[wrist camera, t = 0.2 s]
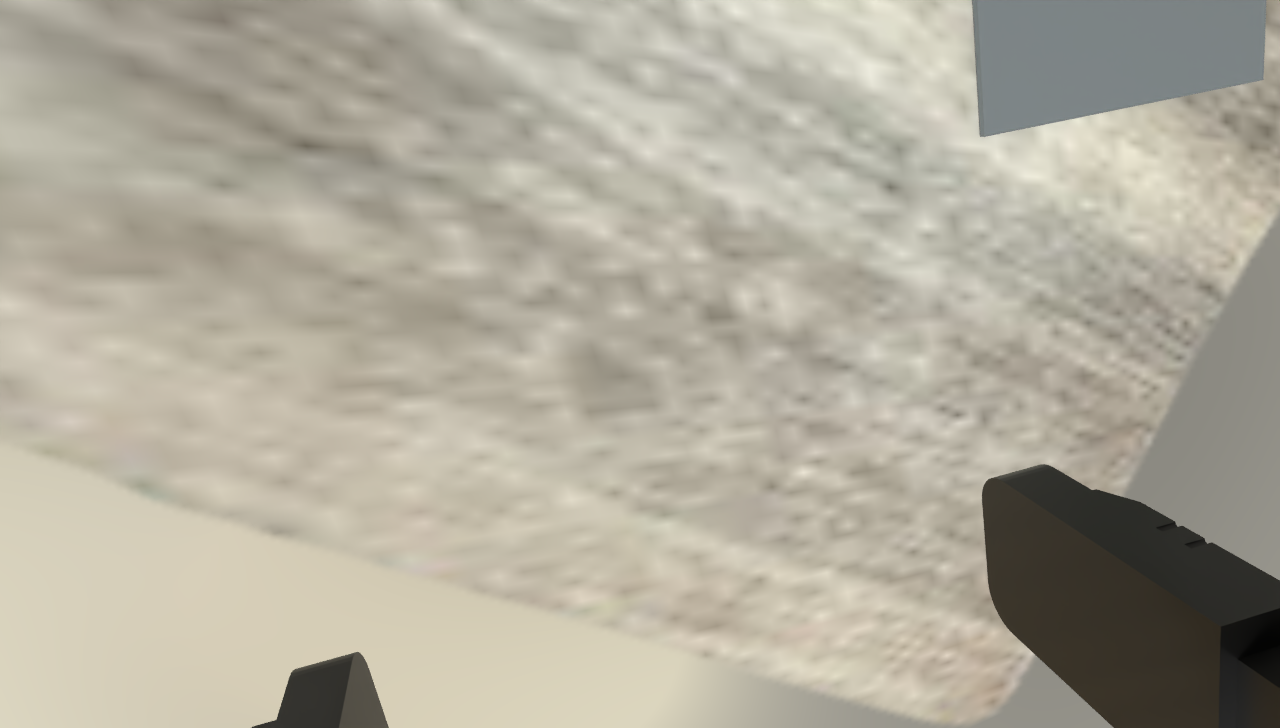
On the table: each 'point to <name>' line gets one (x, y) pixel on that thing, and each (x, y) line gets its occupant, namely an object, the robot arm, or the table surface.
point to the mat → (1107, 55)
